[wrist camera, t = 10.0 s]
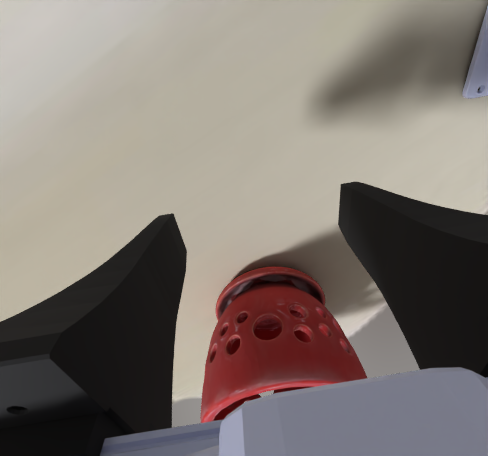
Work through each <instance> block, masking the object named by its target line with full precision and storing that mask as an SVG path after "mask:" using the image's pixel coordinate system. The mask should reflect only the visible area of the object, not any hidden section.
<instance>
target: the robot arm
mask: <svg viewBox="0 0 488 456" xmlns="http://www.w3.org/2000/svg"><path fill="white" fill-rule="evenodd" d="M479 87H480V89H479V91H478V92H477V90H478V88H479ZM482 96H488V6H487V10H486V13H485V17H484V20H483V24H482V27H481V31H480V34H479V37H478V41H477V44H476V48H475V51H474V55H473V58H472V62H471V65H470V68H469V72H468V75H467V79H466V82H465V86H464V89H463V97H465V98H477V97H482ZM338 225H339V227H340V229H341V231H342V233H343V235H344V237H345V239H346V241H347V243H348V245H349V246H350V248H351V249H352V250H353V252H354V253H355V255H356V256H357V258H358V259H359V260H360V262H361V263H362V265H363V266H364V267H365V269H366V270H367V272H368V273H369V274H370V276H371V277H372V279H373V280H374V281H375V283H376V285H377V286H378V288H379V289H380V291H381V293H382V294H383V296H384V298H385V300H386V302H387V304H388V305H389V307H390V309H391V311H392V312H393V314H394V316H395V319H396V321H397V322H398V324H399V326H400V328H401V330H402V332H403V334H404V336H405V338H406V340H407V342H408V345H409V347H410V349H411V351H412V353H413V355H414V357H415V359H416V362H417V364H418V366H419V368H420V370H416V371H410V372H404V373H397V374H391V375H385V376H379V377H373V378H366V379H360V380H354V381H348V382H341V383H335V384H329V385H323V386H317V387H310V388H304V389H298V390H292V391H286V392H279V393H274V394H271V395H268V396H264V397H261V398H257V399H254V400H250V401H247V402H245V403H243V404H242V405H241V406H239V407H238V408H236V409H235V410H234V411H232V412H231V413H229V414H228V415H227V416H226V417H225V418H224V420H217V421H211V422H205V423H199V424H193V425H186V426H180V427H174V428H172V380H173V359H174V343H175V330H176V321H177V314H178V309H179V304H180V299H181V293H182V288H183V283H184V278H185V272H186V254H187V250H186V248H185V245H184V242H183V239H182V236H181V234H180V231H179V228H178V225H177V222H176V220H175V217H174V214H167V215H161V216H158V217H157V218H156V219H155V220H153V221H152V222H151V223H150V224H149V225H148V226H147V227H146V228H145V229H143V230H142V231H141V232H140V233H139V234H138V235H137V236H136V237H135V238H134V239H133V240H132V241H130V242H129V243H128V244H127V245H126V246H125V247H123V248H122V249H121V250H120V251H119V252H117V253H116V254H115V255H114V256H113V257H111V258H110V259H109V260H108V261H106V262H105V263H104V264H102V265H101V266H100V267H98V268H97V269H95V270H94V271H92V272H91V273H90V274H88V275H87V276H85V277H83V278H82V279H80V280H79V281H77V282H75V283H74V284H72V285H70V286H69V287H67V288H66V289H64V290H62V291H61V292H59V293H57V294H55V295H54V296H52V297H50V298H48V299H46V300H44V301H43V302H41V303H39V304H37V305H35V306H33V307H31V308H29V309H27V310H25V311H23V312H21V313H19V314H17V315H15V316H13V317H10V318H8V319H6V320H4V321H2V322H0V456H488V215H482V214H476V213H470V212H464V211H459V210H455V209H450V208H445V207H440V206H436V205H432V204H428V203H425V202H421V201H418V200H414V199H411V198H407V197H404V196H401V195H398V194H395V193H392V192H389V191H386V190H383V189H380V188H377V187H374V186H370V185H367V184H364V183H360V182H351V183H345V184H341V191H340V206H339V222H338Z"/></svg>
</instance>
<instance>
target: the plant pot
mask: <svg viewBox="0 0 488 456" xmlns="http://www.w3.org/2000/svg"><path fill="white" fill-rule="evenodd" d="M324 306H325V296H324V293H323V290H322V288H321V287H320V285H319V284H318V283H317V282H316V281H315V280H314V279H313V278H312V277H310V276H309V275H307V274H305V273H303V272H301V271H298V270H295V269H292V268H287V267H264V268H259V269H255V270H251V271H249V272H246V273H244V274H242V275H240V276H238V277H237V278H235V279H234V280H233V281H231V282H230V283H229V284H228V285H227V286H226V287H225V288H224V290H223V291H222V293H221V294H220V296H219V298H218V301H217V304H216V316H217V319H218V323H217V325H216V327H215V330H214V332H213V335H212V338H211V342H210V346H209V351H208V356H207V360H206V365H205V377H204V384H203V392H202V405H201V423H205V422H211V421H217V420H224V418H225V417H226V416H227V415H228V414H229V413H231V412H232V411H234V410H235V409H236V408H238V407H239V406H241V405H242V404H243V403H244V402H245V401H250V400H254V399H257V398H261V396H260V395H259V393H262V392H266V391H271V390H274V393H279V392H286V391H292V390H298V389H304V388H310V387H317V386H323V385H329V384H335V383H341V382H348V381H354V380H360V379H366V378H367V376H366V374H365V371H364V369H363V367H362V365H361V363H360V361H359V359H358V357H357V355H356V353H355V351H354V349H353V347H352V346H351V344H350V343H349V341H348V339H347V338H346V336H345V334H344V332H343V331H342V329H341V327H340V325H339V324H338V322H337V321H336V319H335V318H334V317H333V315H332V314H331V313H330V312H329V311H328V310H327V309H326V308H325V307H324ZM274 393H273V394H274Z"/></svg>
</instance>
